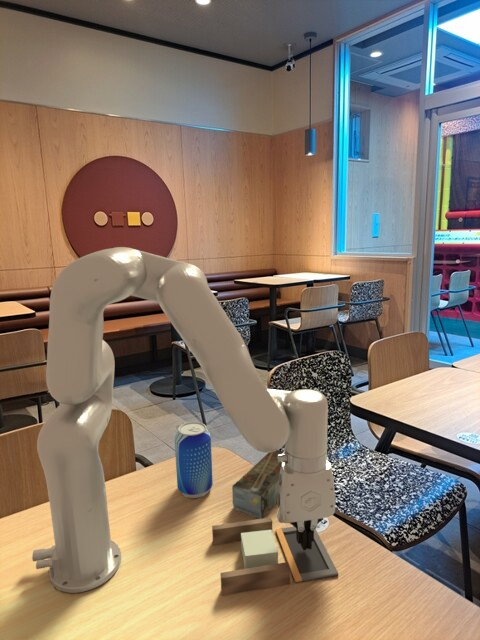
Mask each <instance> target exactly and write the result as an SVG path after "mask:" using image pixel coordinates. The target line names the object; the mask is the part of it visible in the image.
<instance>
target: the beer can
mask: <svg viewBox="0 0 480 640" xmlns="http://www.w3.org/2000/svg"><path fill="white" fill-rule="evenodd" d="M211 435H212V434H211V433H210V431H209V430H208V429H207V426H206V424H205V423H203V422H199V421H188V422H185V423H182V424H181V425H180V426H178V429H177V432H176V434H175V436H174V450H175V451H174V452H175V465H176V466H175V467H176V469H175V471H176V484H177V485H176V487H177V489H178V491H179V492H180V494H182V496H184V497H186V498H188V499H196V498H197V499H198V498H202V497H204V496H206V495H208V493H209V491H211V489H212V487H213V483H214V481H213V460H212V459H213V457H212V438H211V437H212V436H211Z"/></svg>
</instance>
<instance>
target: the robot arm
mask: <svg viewBox="0 0 480 640" xmlns="http://www.w3.org/2000/svg"><path fill="white" fill-rule="evenodd" d="M130 296H132V297H136V298H140V299H144V300H148V301H152V302H156V303H158V304H159V306H160V308H161V310H162V311H163V313H164V314H165V316H166V318H167V319H168V320H169V322H170V323H171V325H172V326H173V328H174V329H175V331H176V332H177V333H178V335H179V336H180V338H181V339H182V341H183V342H184V343H185V345H186V346H187V348H188V349H189V351H190V352H191V354H192V356H193V357H194V358H195V360H196V361H197V363H198V364H199V366H200V367H201V370H202V371H203V374H204V376H205V377H206V380H207V381H208V382H209V385H210V386H211V387H212V390H213V391H214V393H215V394H216V397H217V398H218V400H219V402H220V403H221V405H222V408H223V409H224V411H225V413H226V414H227V416H228V418H230V421H232V423H233V424H234V425H235V427H236V429H237V430H238V431H239V433H240V435H241V436H242V437H243V439H244V440H245V441H246V442H247V443H248V444H249V446H251V447H252V448H253V449H254V450H257V451H258V452H262V453H267V454H268V453H269V452H275V451H277V450H278V451H280V449H282V448H283V451H282V452H283V453H282V454H279V455H277V458H278V462H282V465H281V470H280V475H279V481H278V493H277V502H276V505H277V507H278V511H277V514H276V518H277V521H278V522H279V523H280V524H290V525H291V526H292V527H295V528H296V539H297V542H298V544H301V546H302V549H303V550H306V549H312V542H313V541H314V530H315V529H316V530H317V527H318V524H319V523H320V522H321V521H322V520H323V519H325V518H326V519H327V518H329V517H331V516H333V515H334V514H335V512H336V491H335V479H334V474H333V468H332V464H331V463H330V462H329V461H328V460H327V458H328V455H327V454H328V453H327V452H328V451H327V450H328V412H329V410H328V409H329V407H328V399H327V396H325V395H324V394H323V393H322V392H320V391H318V390H313V389H305V388H304V389H296V390H282V389H274V388H267V387H266V385H265V384H264V381H263V380H262V379H261V377H260V375H259V373H258V371H257V370H256V369H257V368H256V366H255V365H254V362H253V360H252V358H251V354H250V353H249V349H248V347H247V346H246V343H245V341H244V339H243V337H242V335H241V334H240V332H239V331H238V329H237V328H236V326H235V324H233V321H232V320H231V319H230V317H229V316H228V315H227V313H226V311H225V310H224V309H223V307H222V305H221V304H220V302H219V300H218V299H217V297H216V296H215V295H214V292H213V291H212V290H211V288H210V287H209V285H208V279H207V276H206V275H205V273H204V272H203V270H201V269H200V268H199V267H198V266H196V265H194V264H191V263H188V262H184V261H180V260H176V259H172V258H169V257H168V258H167V257H165V256H162V255H158V254H153V253H151V252H146V251H143V250H139V249H135V248H132V247H125V246H120V247H119V246H116V247H113V248H112V247H111V248H105V249H101V250H97V251H95V252H94V251H93V252H91V253H89V254H86V255H84V256H81V257H79V258H77V259H75V260H73V261H71V262H70V263H69V264H66V266H65V267H64V268H63V269H62V270H61V271H60V272H59V274H58V275H57V277H56V278H55V279H54V282H53V285H52V287H51V291H50V297H49V298H50V299H49V316H48V317H49V321H48V322H49V323H48V335H47V349H46V352H47V354H46V370H45V373H46V374H45V382H46V383H45V384H46V387H47V390H48V392H49V394H50V396H51V397H52V398H53V399H54V400H55V401H56V402H58V403H60V404H59V405H58V406H57V407H56V408H55V410H54V411H52V412H51V414H50V415H49V417H48V418H47V419H46V420H45V421H44V423H43V424H42V426H41V428H40V430H39V433H38V436H37V442H36V449H37V455H38V458H39V461H40V464H41V467H42V469H43V472H44V473H43V474H44V477H45V481H46V487H47V494H48V495H47V496H48V500H49V508H50V516H51V521H52V522H51V523H52V530H53V538H54V545H51V547H50V548H39V549H34V550H33V551H32V555H31V557H32V562H36V563H35V568H36V570H39V569H40V570H41V569H45V568H49V571H48V573H49V579H50V583H51V584H52V585H53V587H54V588H56V589H57V590H59V591H61V592H64V593H70V594H71V593H72V594H73V593H75V594H76V593H83V592H86V591H90V590H93V589H95V588H97V587H100V586H102V585H103V584H105V583H106V582H107V581H108V580H109V579H111V578H112V577H113V576H114V574H116V572H117V571H118V569H119V567H120V565H121V560H122V552H121V549H120V547H119V545H118V544H117V543H116V542H115V541H113V540H112V539H111V529H110V519H109V511H108V500H107V492H106V491H107V488H106V484H105V483H106V481H105V473H104V466H103V464H102V460H101V457H100V453H99V444H100V440H101V439H102V436H103V434H104V432H105V430H106V428H107V427H108V425H109V422H110V419H111V415H112V410H113V409H112V407H113V395H114V381H115V367H116V366H115V364H116V363H115V356H114V353H113V350H112V348H111V346H110V345H109V344H108V342H106V341H105V340H104V339H103V338H104V330H105V329H104V328H105V325H104V323H105V321H104V320H105V319H104V312H105V311H104V310H105V309H106V308H107V307H108V306H109V305H111V304H114V303H118V302H121V301H123V300H125V299H127V298H129V297H130Z"/></svg>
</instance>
